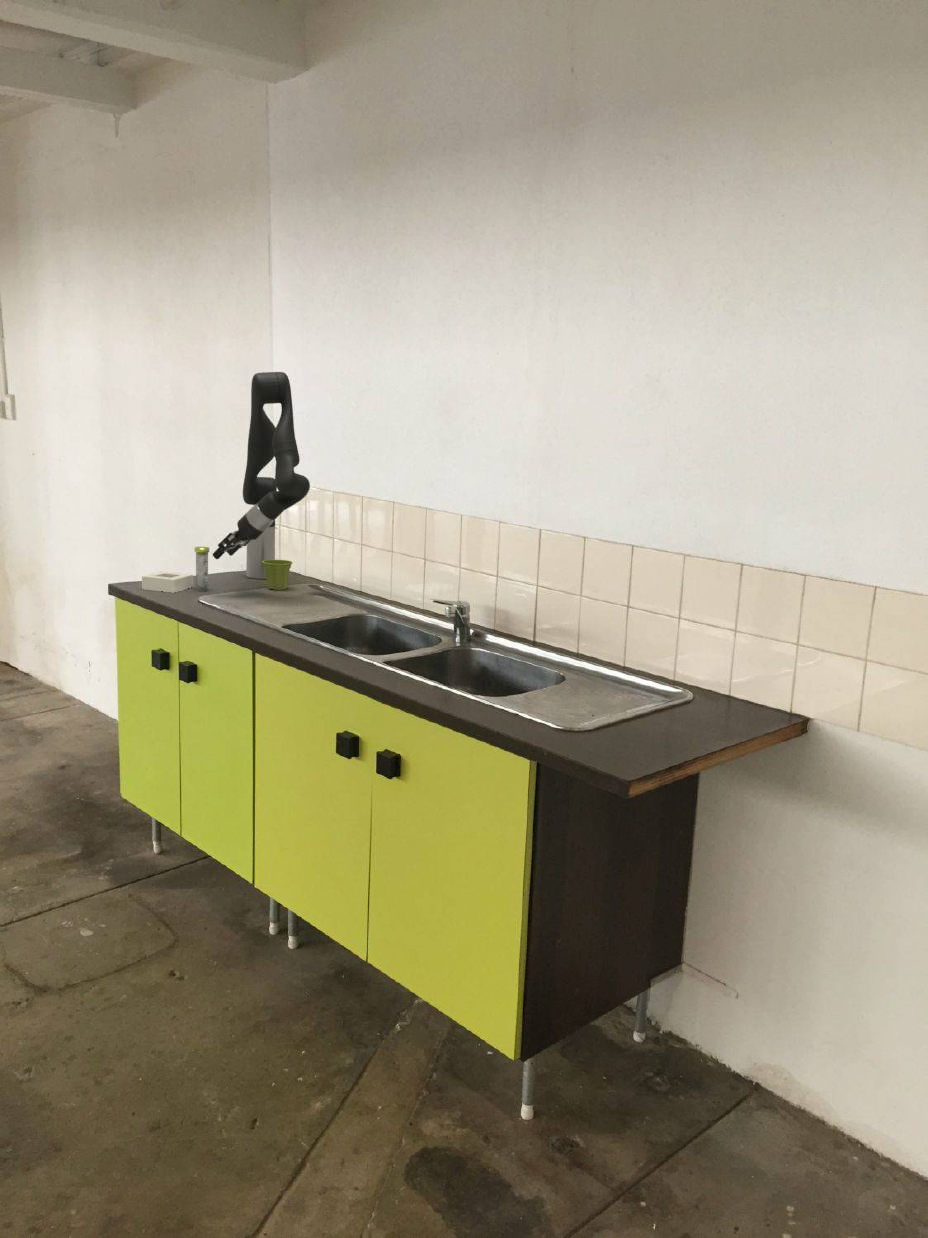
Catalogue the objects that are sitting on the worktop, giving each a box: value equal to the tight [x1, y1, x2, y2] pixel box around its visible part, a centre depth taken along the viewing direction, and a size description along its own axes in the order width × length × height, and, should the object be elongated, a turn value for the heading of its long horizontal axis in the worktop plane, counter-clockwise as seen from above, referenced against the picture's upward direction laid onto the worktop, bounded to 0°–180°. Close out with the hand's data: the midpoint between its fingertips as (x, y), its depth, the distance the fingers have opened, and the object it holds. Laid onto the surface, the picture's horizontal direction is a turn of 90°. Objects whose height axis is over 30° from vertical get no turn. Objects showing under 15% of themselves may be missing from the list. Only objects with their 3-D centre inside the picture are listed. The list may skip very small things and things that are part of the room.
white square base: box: [141, 571, 194, 594], centre depth 320 cm, size 11×11×4 cm
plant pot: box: [262, 559, 293, 591], centre depth 329 cm, size 9×9×9 cm
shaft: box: [194, 546, 210, 592], centre depth 319 cm, size 4×4×13 cm
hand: (221, 555), depth 316 cm, fingers open, 8 cm apart
